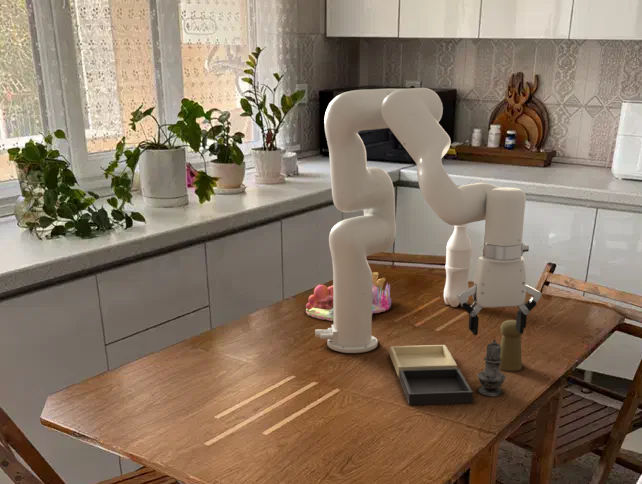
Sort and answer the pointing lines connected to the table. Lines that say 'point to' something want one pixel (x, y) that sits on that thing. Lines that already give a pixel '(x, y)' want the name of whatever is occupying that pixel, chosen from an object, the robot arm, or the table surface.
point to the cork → (510, 347)
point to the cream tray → (421, 357)
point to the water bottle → (457, 265)
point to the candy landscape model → (323, 299)
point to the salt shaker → (491, 372)
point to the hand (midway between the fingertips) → (496, 332)
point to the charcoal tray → (435, 386)
